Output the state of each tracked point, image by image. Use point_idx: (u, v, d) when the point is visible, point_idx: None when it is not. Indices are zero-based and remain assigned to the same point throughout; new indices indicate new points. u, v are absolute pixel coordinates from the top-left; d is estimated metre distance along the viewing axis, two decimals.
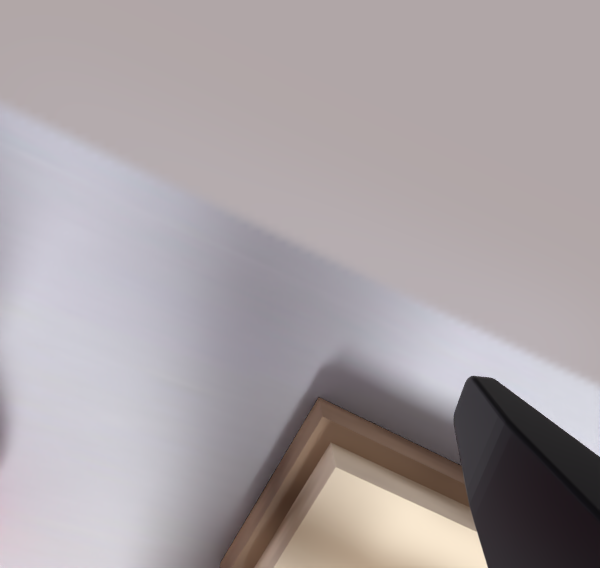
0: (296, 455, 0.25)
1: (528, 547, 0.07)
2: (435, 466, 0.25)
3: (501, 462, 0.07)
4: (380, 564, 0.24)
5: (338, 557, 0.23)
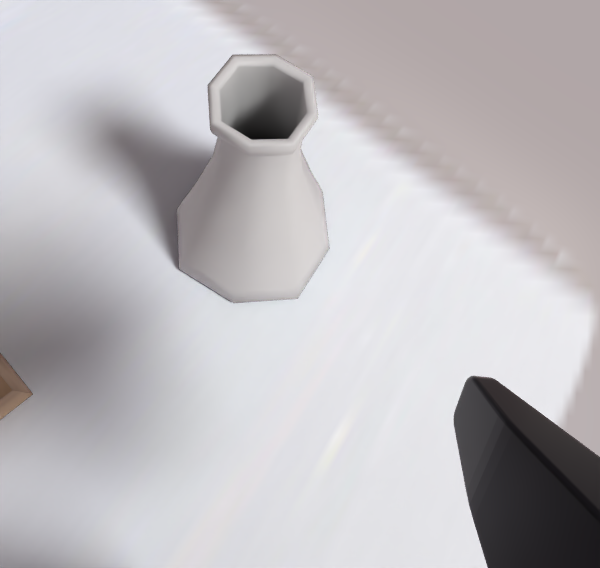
0: None
1: (528, 547, 0.07)
2: None
3: (501, 462, 0.07)
4: None
5: None
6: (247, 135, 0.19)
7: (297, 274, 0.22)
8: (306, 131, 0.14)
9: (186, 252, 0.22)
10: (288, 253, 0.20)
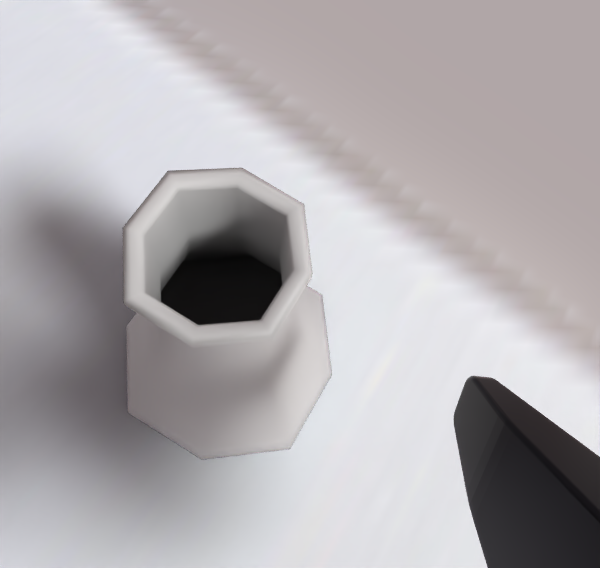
0: None
1: (528, 547, 0.07)
2: None
3: (501, 462, 0.07)
4: None
5: None
6: (211, 252, 0.13)
7: (288, 427, 0.16)
8: (292, 305, 0.08)
9: (133, 399, 0.15)
10: (273, 411, 0.14)
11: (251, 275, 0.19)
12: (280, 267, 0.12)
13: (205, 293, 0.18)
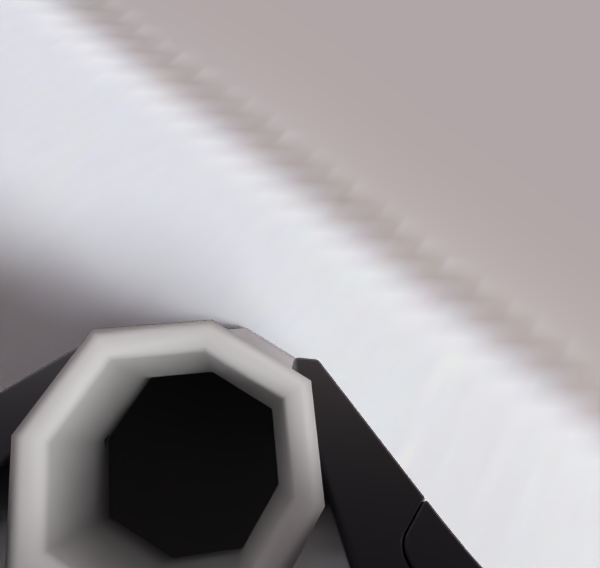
0: None
1: None
2: None
3: None
4: None
5: None
6: None
7: None
8: (292, 564, 0.05)
9: None
10: None
11: None
12: None
13: (184, 377, 0.15)
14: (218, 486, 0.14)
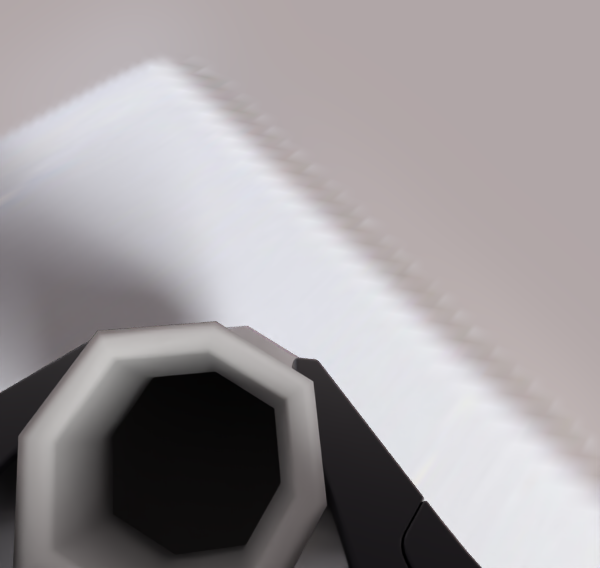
0: None
1: None
2: None
3: None
4: None
5: None
6: None
7: None
8: (295, 562, 0.05)
9: None
10: None
11: None
12: None
13: (186, 375, 0.15)
14: (220, 482, 0.14)
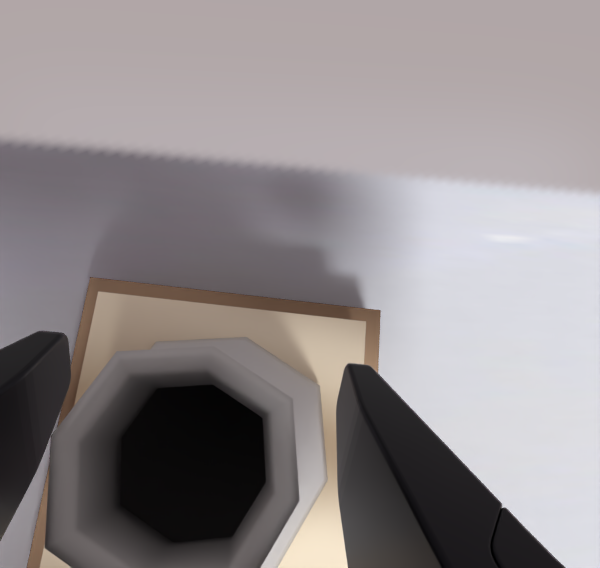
0: None
1: (369, 535, 0.07)
2: (262, 299, 0.20)
3: (356, 449, 0.07)
4: None
5: None
6: None
7: (274, 555, 0.14)
8: (272, 546, 0.06)
9: None
10: None
11: None
12: None
13: None
14: (215, 482, 0.16)
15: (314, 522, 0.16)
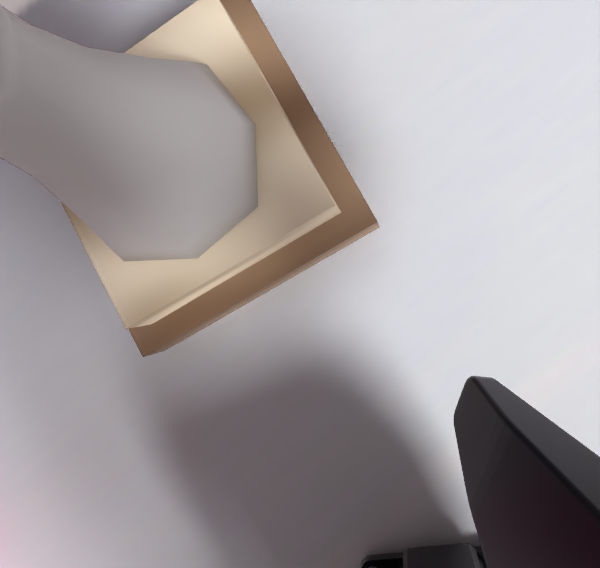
0: None
1: (528, 547, 0.07)
2: None
3: (501, 462, 0.07)
4: None
5: None
6: None
7: (229, 186, 0.16)
8: None
9: (107, 245, 0.17)
10: (190, 176, 0.15)
11: None
12: None
13: None
14: None
15: (267, 161, 0.18)
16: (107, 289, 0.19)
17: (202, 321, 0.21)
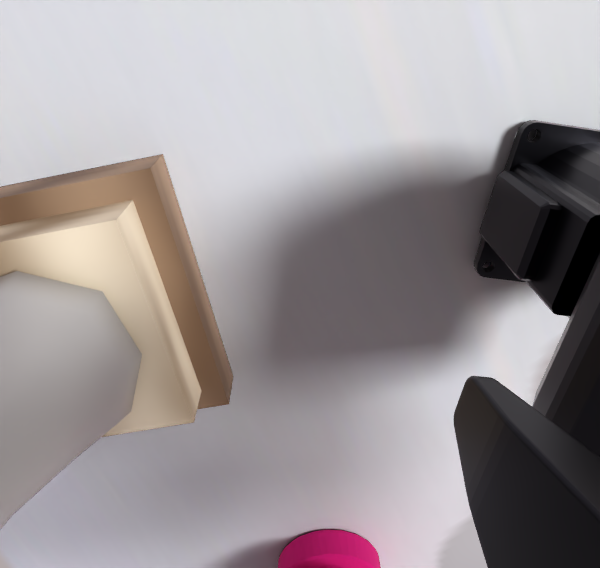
0: None
1: (528, 547, 0.07)
2: None
3: (501, 462, 0.07)
4: None
5: None
6: None
7: (70, 323, 0.17)
8: None
9: (108, 430, 0.19)
10: (47, 369, 0.16)
11: None
12: None
13: None
14: None
15: (58, 268, 0.18)
16: (154, 427, 0.21)
17: (210, 350, 0.22)
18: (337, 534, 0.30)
